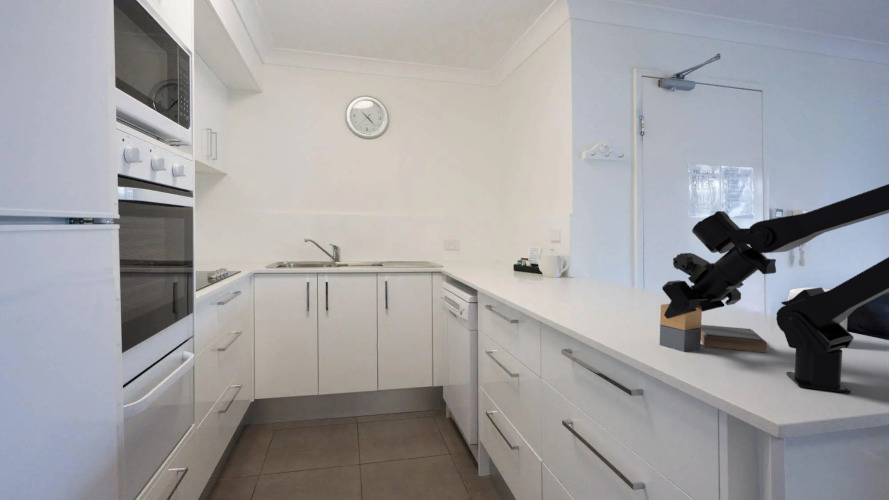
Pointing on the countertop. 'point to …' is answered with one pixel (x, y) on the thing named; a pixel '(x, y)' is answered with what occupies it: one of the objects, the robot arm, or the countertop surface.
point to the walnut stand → (732, 338)
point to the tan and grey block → (681, 330)
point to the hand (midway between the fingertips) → (674, 315)
